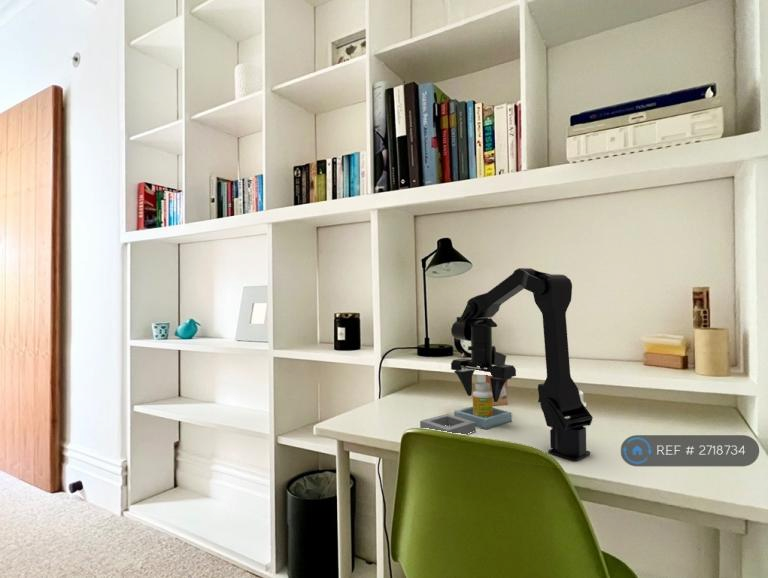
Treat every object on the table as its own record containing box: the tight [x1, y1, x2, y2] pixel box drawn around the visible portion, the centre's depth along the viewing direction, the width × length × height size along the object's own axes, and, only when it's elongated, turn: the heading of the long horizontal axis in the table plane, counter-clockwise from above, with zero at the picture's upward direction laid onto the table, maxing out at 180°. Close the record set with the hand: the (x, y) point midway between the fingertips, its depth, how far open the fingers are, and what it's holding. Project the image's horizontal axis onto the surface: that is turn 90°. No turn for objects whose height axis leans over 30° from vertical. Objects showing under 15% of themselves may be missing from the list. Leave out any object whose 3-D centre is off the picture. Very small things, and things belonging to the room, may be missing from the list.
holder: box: [419, 413, 477, 435], centre depth 111 cm, size 10×10×2 cm
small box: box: [476, 374, 509, 406], centre depth 138 cm, size 8×6×10 cm
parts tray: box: [454, 405, 513, 430], centre depth 119 cm, size 11×11×2 cm
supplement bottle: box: [472, 382, 494, 418], centre depth 119 cm, size 5×5×10 cm
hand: (482, 398), depth 119 cm, fingers open, 9 cm apart
